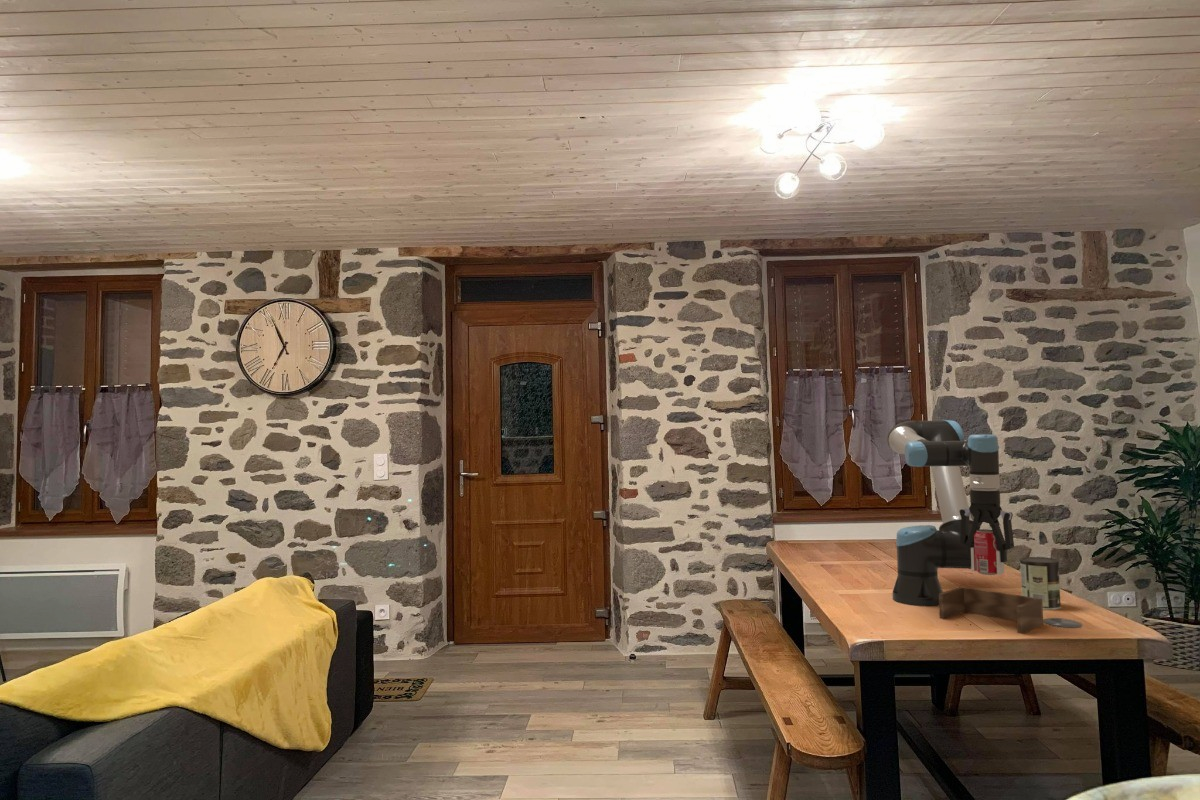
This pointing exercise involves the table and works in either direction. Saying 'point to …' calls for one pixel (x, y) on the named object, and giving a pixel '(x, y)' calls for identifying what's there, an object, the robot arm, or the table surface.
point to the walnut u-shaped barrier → (993, 606)
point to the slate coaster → (1062, 623)
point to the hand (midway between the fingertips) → (987, 571)
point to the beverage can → (985, 552)
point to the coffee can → (1041, 580)
